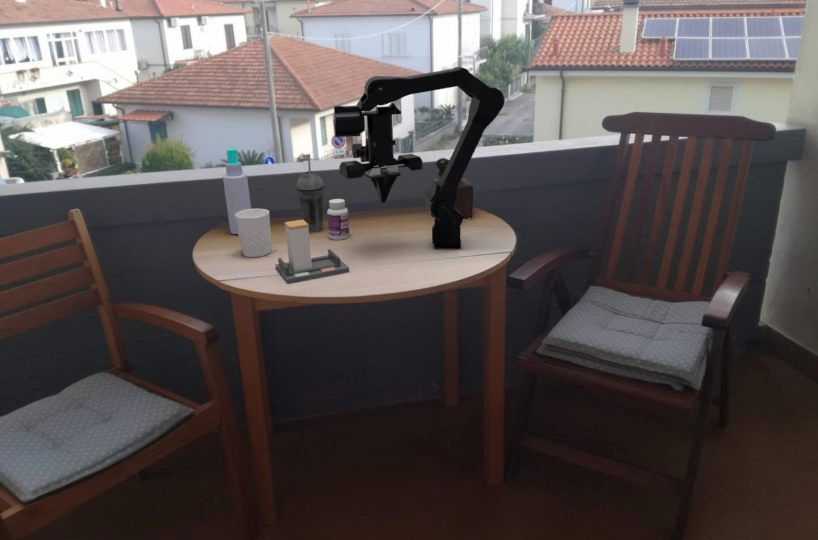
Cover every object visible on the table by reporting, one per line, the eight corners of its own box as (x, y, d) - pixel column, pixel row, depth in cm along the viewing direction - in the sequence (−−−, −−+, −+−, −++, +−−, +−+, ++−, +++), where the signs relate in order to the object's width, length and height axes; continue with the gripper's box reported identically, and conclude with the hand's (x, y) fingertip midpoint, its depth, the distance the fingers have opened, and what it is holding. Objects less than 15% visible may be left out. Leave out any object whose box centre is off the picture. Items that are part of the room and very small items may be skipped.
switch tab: (306, 262, 142) (302, 219, 138) (312, 268, 138) (308, 224, 135) (289, 266, 140) (284, 222, 136) (294, 272, 137) (289, 227, 133)
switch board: (334, 258, 148) (333, 246, 147) (349, 271, 139) (348, 259, 138) (275, 268, 142) (274, 256, 141) (287, 283, 134) (286, 270, 133)
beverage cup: (296, 233, 165) (289, 158, 158) (304, 225, 172) (297, 152, 165) (323, 234, 164) (317, 158, 157) (330, 225, 171) (324, 152, 164)
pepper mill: (428, 211, 182) (427, 149, 175) (465, 209, 183) (466, 147, 176) (436, 227, 168) (436, 160, 161) (477, 225, 169) (478, 158, 162)
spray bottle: (249, 235, 165) (238, 151, 157) (227, 235, 166) (215, 151, 157) (256, 228, 170) (247, 147, 162) (235, 228, 171) (224, 147, 163)
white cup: (278, 248, 155) (274, 209, 152) (265, 259, 148) (260, 218, 144) (249, 246, 157) (244, 207, 153) (234, 257, 150) (229, 217, 146)
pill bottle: (346, 240, 159) (343, 203, 156) (326, 239, 160) (323, 203, 157) (352, 234, 164) (350, 198, 160) (332, 233, 165) (330, 197, 161)
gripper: (402, 126, 152) (404, 189, 158) (329, 133, 145) (333, 199, 150) (423, 133, 143) (424, 199, 148) (346, 141, 135) (350, 211, 141)
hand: (382, 202), depth 147 cm, fingers closed
